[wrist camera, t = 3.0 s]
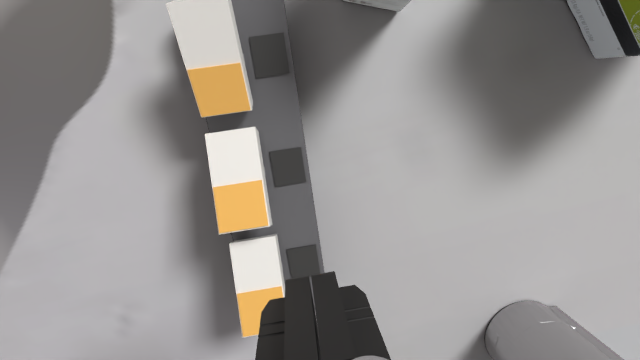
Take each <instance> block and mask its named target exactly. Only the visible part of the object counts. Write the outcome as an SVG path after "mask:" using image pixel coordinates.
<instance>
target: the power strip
mask: <svg viewBox="0 0 640 360" xmlns="http://www.w3.org/2000/svg"><path fill="white" fill-rule="evenodd" d="M231 2H232V7H233V11H234V16H235V21H236V25H237V30H238V34H239V39H240V44H241V48H242V53H243V58H244V62H245V67H246V71H247V76H248V81H249V85H250V90H251V95H252V99H253V107H252V111H245V112H238V113H231V114H224V115H217V116H210V117H206V120H207V124H208V129H209V133H215V132H221V131H228V130H235V129H242V128H249V127H256V129H257V130H258V132H259V138H260V145H261V152H262V158H263V165H264V172H265V178H266V185H267V192H268V199H269V205H270V212H271V219H272V225H271V226H269V227H263V228H257V229H251V230H244V231H238V232H232V233H231V234H232V238H233V241H237V240H243V239H249V238H255V237H261V236H267V235H273V234H277V236H278V243H279V250H280V256H281V263H282V270H283V276H284V283H285V280H287V279H293V278H299V277H305V276H309V278H310V284H311V290H312V296H313V302H314V295H313V287H312V279H311V275H316V274H322V273H324V267H323V260H322V254H321V247H320V240H319V234H318V227H317V220H316V214H315V207H314V200H313V193H312V187H311V180H310V173H309V167H308V160H307V153H306V147H305V140H304V133H303V126H302V120H301V113H300V106H299V100H298V93H297V86H296V80H295V73H294V66H293V59H292V53H291V46H290V39H289V33H288V26H287V19H286V13H285V6H284V0H231ZM314 309H315V303H314Z"/></svg>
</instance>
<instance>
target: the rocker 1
mask: <svg viewBox="0 0 640 360" xmlns="http://www.w3.org/2000/svg"><path fill="white" fill-rule="evenodd" d="M166 6H167V9H168V13H169V16H170V19H171V22H172V25H173V29H174V32H175V35H176V38H177V42H178V45H179V48H180V51H181V55H182V58H183V61H184V64H185V67H186V71H187V74H188V77H189V80H190V84H191V87H192V90H193V93H194V97H195V100H196V103H197V106H198V109H199V113H200V116H201V118H203V117H210V116H217V115H224V114H231V113H238V112H245V111H252V107H253V99H252V95H251V90H250V85H249V81H248V76H247V71H246V67H245V62H244V58H243V53H242V48H241V44H240V39H239V34H238V30H237V25H236V21H235V16H234V11H233V7H232V2H231V0H177V1H172V2H169V3H166Z"/></svg>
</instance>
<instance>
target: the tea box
mask: <svg viewBox="0 0 640 360" xmlns="http://www.w3.org/2000/svg"><path fill="white" fill-rule="evenodd" d="M567 2H568V5H569V7H570V9H571V11H572V13H573V15H574V16H575V18H576V20H577V22H578V24H579V26H580V28H581V31H582V34H583V36H584V38H585V40H586V42H587V44H588V45H589V48H590V50H591V52H592V54H593V56H594V57H595V58H596V59H599V58H613V57H625V56H638V55H640V0H567Z"/></svg>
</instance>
